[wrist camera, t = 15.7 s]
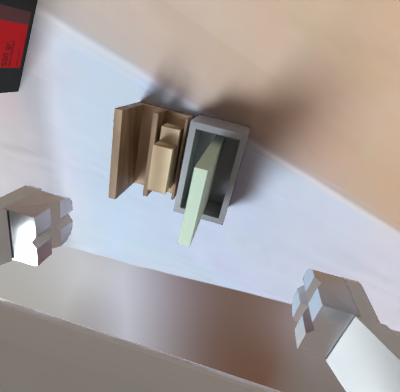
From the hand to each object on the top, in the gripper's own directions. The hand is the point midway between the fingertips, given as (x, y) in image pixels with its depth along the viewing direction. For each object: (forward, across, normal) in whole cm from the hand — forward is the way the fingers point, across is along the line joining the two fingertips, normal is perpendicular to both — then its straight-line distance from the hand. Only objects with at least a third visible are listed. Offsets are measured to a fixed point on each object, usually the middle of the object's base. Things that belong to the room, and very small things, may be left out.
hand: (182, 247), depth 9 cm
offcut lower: (+40, +10, +11) cm, 42 cm away
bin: (+41, +2, +11) cm, 43 cm away
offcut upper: (+37, +10, +12) cm, 40 cm away
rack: (+41, +13, +11) cm, 44 cm away
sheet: (+40, +2, +11) cm, 42 cm away
